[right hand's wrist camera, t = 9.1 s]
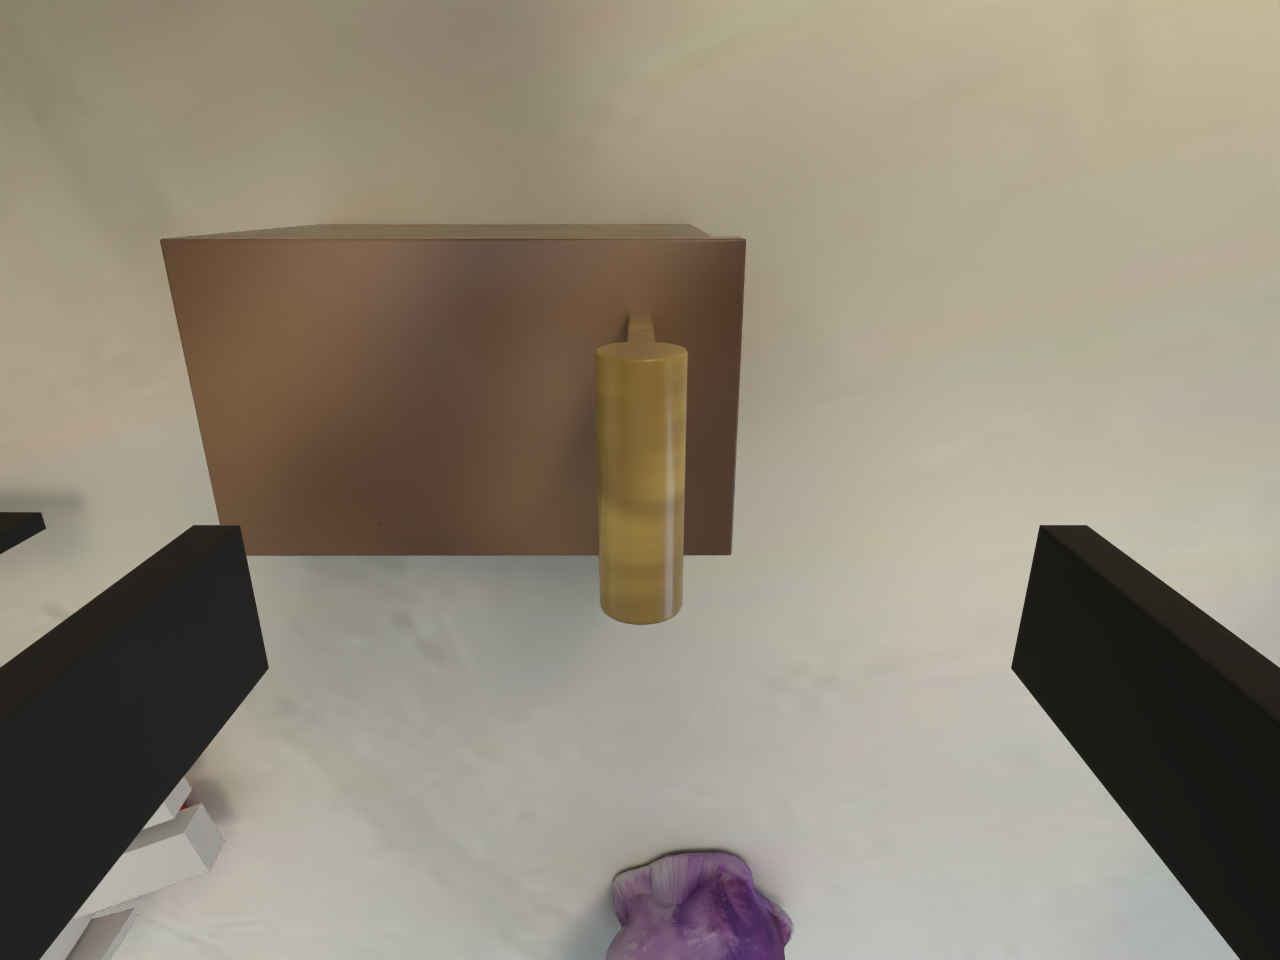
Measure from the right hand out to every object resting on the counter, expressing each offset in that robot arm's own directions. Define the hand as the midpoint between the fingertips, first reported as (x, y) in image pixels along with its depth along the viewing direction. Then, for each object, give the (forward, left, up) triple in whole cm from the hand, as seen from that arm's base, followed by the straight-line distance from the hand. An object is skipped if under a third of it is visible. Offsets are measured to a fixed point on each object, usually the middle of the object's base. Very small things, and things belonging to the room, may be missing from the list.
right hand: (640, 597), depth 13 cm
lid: (+3, -5, -13) cm, 14 cm away
